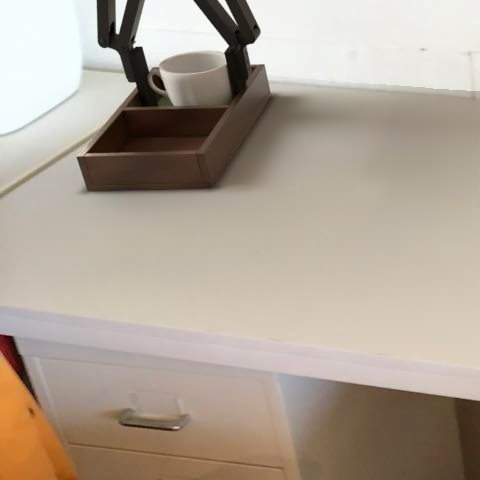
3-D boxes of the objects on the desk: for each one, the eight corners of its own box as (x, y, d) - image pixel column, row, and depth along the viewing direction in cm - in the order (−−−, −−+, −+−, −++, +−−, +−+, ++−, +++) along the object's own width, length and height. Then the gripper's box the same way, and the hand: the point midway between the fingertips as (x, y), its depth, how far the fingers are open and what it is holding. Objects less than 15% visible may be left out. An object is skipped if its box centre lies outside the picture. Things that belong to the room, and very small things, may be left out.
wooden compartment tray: (87, 191, 133) (75, 156, 130) (161, 98, 152) (152, 66, 149) (212, 188, 132) (203, 153, 130) (271, 95, 151) (264, 63, 148)
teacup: (252, 99, 148) (241, 50, 144) (228, 125, 142) (215, 75, 139) (170, 98, 149) (157, 49, 146) (142, 123, 144) (128, 74, 140)
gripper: (260, -126, 133) (304, 94, 148) (45, -119, 134) (111, 99, 149) (241, -108, 127) (289, 119, 142) (18, -100, 128) (88, 124, 143)
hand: (198, 109), depth 146 cm, fingers closed on teacup, 10 cm apart
